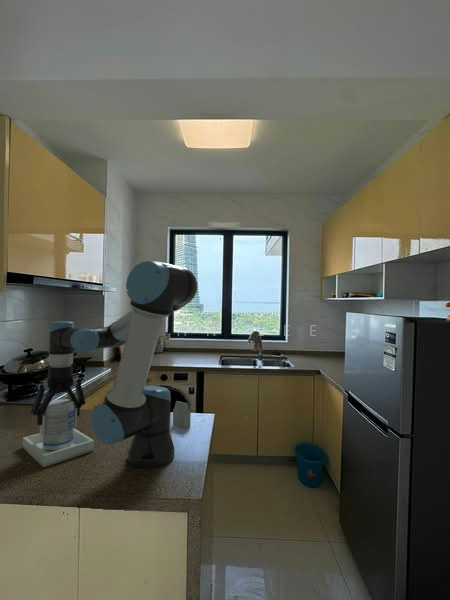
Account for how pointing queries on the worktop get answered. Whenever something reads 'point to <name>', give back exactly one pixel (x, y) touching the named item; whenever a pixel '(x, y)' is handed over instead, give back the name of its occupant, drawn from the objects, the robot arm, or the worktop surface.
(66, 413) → the supplement tub
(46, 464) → the tray
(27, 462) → the worktop surface
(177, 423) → the grey block
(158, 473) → the worktop surface
